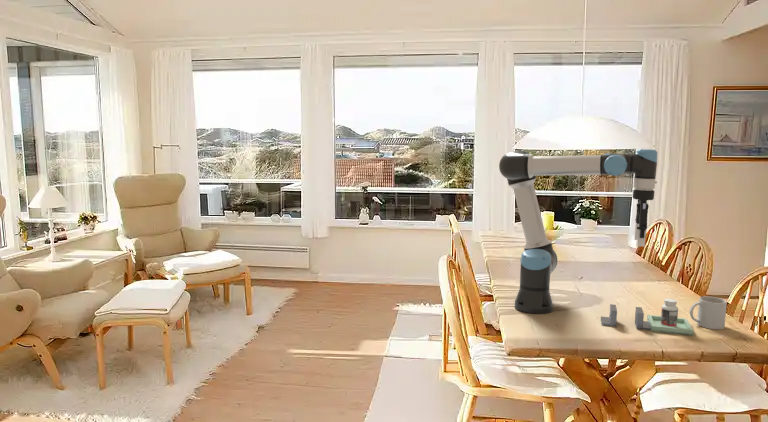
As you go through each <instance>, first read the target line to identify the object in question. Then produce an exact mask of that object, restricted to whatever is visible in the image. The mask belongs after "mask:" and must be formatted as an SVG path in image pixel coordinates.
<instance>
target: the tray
mask: <svg viewBox="0 0 768 422" xmlns="http://www.w3.org/2000/svg"><path fill="white" fill-rule="evenodd" d="M646 316H647V318H646V321H648V322H649V324H650V326H651V332H656V333H663V334H672V335H673V334H674V335H682V336H688V337H689V336H691V337H694V329H693V327H692V326H691V324H690V322H689V320H688V318H683V317H678V318H677V327H666V326H662V325H661V315H655V314H647V315H646Z"/></svg>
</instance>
